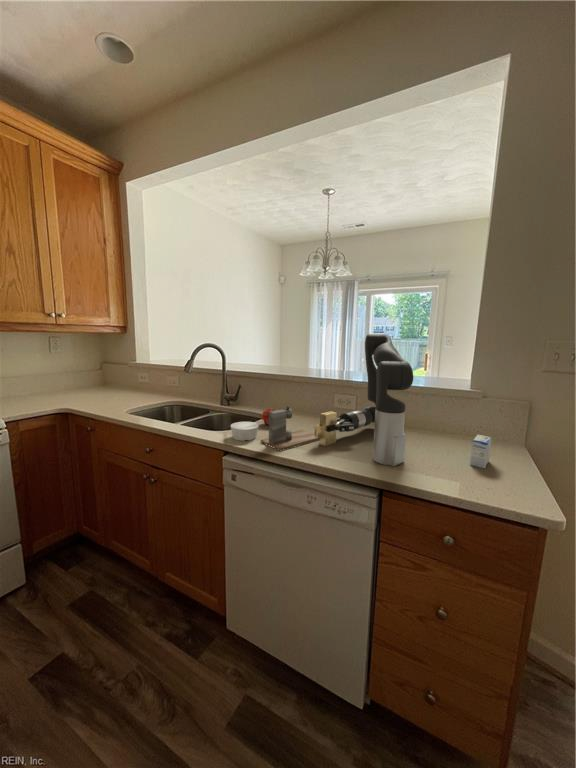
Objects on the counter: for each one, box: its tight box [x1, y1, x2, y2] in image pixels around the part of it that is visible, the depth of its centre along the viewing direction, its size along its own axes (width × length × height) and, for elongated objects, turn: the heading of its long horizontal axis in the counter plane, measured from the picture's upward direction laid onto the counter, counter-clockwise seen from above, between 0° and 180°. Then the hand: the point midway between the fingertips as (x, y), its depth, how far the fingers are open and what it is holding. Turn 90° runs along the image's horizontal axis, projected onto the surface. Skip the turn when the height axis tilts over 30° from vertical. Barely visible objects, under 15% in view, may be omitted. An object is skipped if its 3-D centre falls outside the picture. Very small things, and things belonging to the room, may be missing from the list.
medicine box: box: [469, 434, 493, 469], centre depth 105 cm, size 8×4×9 cm, turn 141°
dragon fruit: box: [260, 407, 276, 426], centre depth 146 cm, size 8×8×12 cm
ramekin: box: [230, 421, 259, 441], centre depth 128 cm, size 11×11×5 cm
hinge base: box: [260, 405, 320, 451], centre depth 124 cm, size 12×22×14 cm, turn 131°
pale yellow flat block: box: [314, 411, 338, 447], centre depth 121 cm, size 3×10×12 cm, turn 131°
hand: (324, 428), depth 120 cm, fingers closed on pale yellow flat block, 3 cm apart
